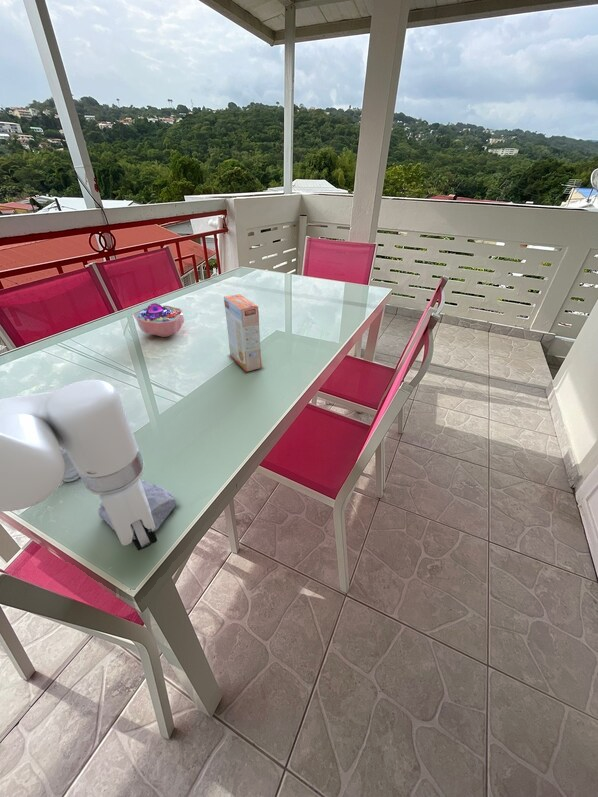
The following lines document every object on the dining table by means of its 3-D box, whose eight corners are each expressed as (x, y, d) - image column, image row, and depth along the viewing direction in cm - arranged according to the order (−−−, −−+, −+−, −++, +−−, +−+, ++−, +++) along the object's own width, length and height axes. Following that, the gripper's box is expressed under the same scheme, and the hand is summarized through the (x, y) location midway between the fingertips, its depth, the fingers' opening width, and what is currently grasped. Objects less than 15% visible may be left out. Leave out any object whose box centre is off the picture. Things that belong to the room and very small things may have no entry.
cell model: (150, 348, 119) (142, 318, 112) (133, 331, 132) (125, 303, 125) (194, 336, 128) (189, 308, 121) (175, 321, 140) (169, 294, 134)
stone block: (145, 551, 58) (182, 501, 64) (133, 539, 54) (172, 488, 60) (99, 526, 62) (137, 482, 68) (85, 514, 59) (126, 469, 65)
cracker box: (262, 368, 108) (259, 305, 96) (245, 373, 105) (239, 309, 93) (245, 351, 118) (240, 292, 106) (229, 355, 115) (222, 295, 103)
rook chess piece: (55, 481, 68) (38, 453, 64) (71, 465, 72) (56, 438, 67) (75, 484, 68) (59, 456, 63) (89, 468, 71) (75, 440, 67)
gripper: (73, 446, 48) (113, 522, 59) (91, 518, 38) (134, 594, 49) (128, 427, 52) (156, 502, 62) (156, 488, 42) (184, 565, 52)
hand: (146, 542), depth 55 cm, fingers closed
